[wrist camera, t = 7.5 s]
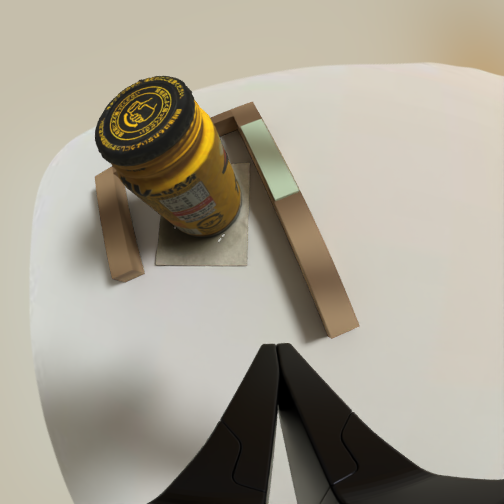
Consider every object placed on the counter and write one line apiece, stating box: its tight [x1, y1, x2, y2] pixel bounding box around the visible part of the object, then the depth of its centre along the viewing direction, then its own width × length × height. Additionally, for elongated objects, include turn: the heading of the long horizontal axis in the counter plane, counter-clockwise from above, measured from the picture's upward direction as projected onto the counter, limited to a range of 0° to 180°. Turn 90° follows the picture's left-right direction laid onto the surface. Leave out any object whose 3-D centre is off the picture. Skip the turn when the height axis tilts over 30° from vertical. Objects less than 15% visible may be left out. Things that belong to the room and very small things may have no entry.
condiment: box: [95, 76, 250, 266], centre depth 17 cm, size 7×8×12 cm
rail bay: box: [95, 102, 359, 339], centre depth 21 cm, size 19×16×2 cm
